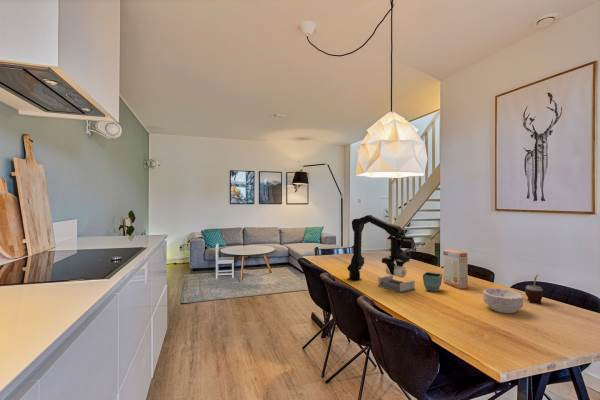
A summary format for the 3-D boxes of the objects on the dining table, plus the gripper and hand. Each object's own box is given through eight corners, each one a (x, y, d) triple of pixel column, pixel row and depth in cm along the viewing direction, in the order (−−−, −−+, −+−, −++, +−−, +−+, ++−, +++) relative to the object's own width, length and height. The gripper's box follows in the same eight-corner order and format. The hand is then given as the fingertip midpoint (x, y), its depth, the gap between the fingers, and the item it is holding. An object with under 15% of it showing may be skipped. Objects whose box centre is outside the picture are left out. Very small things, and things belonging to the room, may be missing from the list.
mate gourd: (531, 299, 152) (531, 270, 152) (548, 304, 144) (548, 273, 144) (521, 300, 150) (521, 271, 150) (538, 306, 142) (537, 274, 142)
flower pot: (439, 293, 162) (439, 277, 162) (422, 290, 167) (422, 274, 167) (442, 289, 169) (442, 273, 169) (426, 287, 174) (426, 271, 174)
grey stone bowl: (505, 317, 128) (505, 299, 128) (475, 305, 143) (475, 289, 143) (531, 314, 132) (531, 296, 132) (500, 302, 147) (500, 286, 147)
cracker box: (468, 288, 170) (468, 252, 170) (459, 289, 169) (458, 253, 169) (451, 282, 184) (451, 248, 184) (443, 282, 183) (442, 249, 183)
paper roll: (385, 274, 176) (385, 264, 176) (391, 273, 179) (391, 263, 179) (400, 278, 167) (400, 267, 167) (406, 276, 171) (406, 266, 171)
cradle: (378, 286, 177) (378, 277, 177) (391, 282, 183) (391, 274, 183) (401, 293, 163) (401, 284, 163) (414, 289, 170) (414, 280, 170)
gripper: (397, 250, 161) (397, 279, 161) (417, 247, 172) (417, 274, 172) (381, 248, 171) (381, 275, 171) (401, 245, 181) (401, 270, 181)
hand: (395, 274), depth 173 cm, fingers closed on paper roll, 6 cm apart
